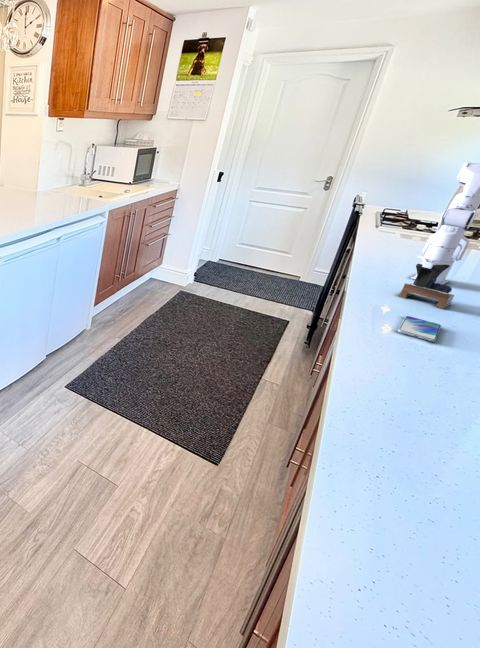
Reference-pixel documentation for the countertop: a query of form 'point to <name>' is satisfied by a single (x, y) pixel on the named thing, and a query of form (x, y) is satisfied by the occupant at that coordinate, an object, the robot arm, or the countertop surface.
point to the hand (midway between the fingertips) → (423, 284)
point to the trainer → (436, 286)
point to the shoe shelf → (427, 294)
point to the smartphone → (420, 328)
